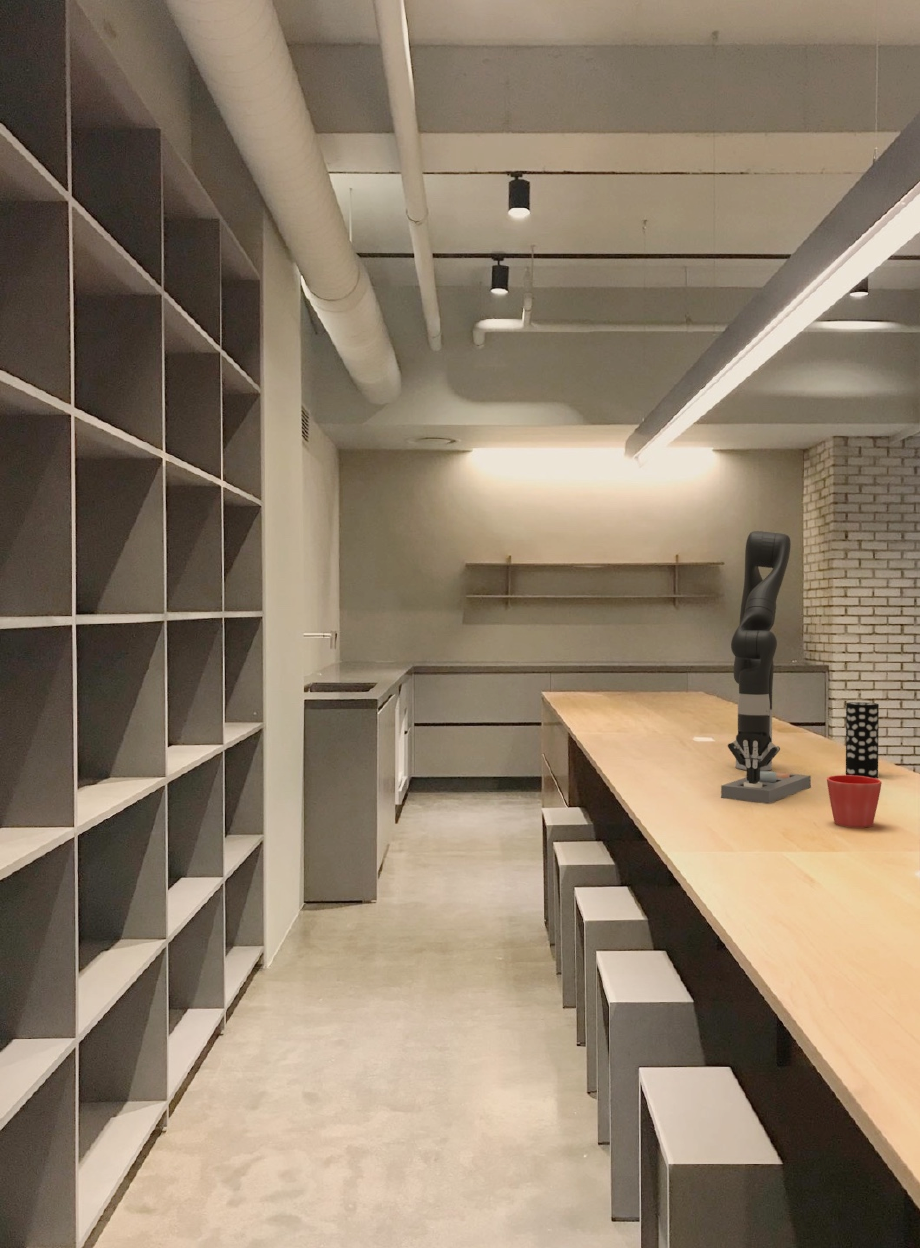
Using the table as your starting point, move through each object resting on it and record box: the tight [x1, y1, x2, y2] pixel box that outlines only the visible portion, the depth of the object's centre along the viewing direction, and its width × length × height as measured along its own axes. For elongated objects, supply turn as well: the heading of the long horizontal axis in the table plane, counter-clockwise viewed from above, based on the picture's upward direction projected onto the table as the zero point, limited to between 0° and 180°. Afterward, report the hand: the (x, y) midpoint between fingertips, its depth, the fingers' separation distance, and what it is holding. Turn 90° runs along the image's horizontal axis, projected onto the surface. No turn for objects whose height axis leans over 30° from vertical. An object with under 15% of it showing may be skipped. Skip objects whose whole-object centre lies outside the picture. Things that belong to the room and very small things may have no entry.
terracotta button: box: [775, 771, 791, 778], centre depth 265 cm, size 4×4×3 cm
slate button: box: [759, 770, 777, 783], centre depth 258 cm, size 4×4×3 cm
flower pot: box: [826, 774, 883, 829], centre depth 220 cm, size 11×11×10 cm
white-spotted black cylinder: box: [845, 701, 880, 779], centre depth 282 cm, size 8×8×20 cm
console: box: [720, 772, 812, 804], centre depth 258 cm, size 12×28×3 cm, turn 142°
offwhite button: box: [744, 782, 762, 788], centre depth 250 cm, size 4×4×3 cm
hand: (753, 783), depth 250 cm, fingers closed
